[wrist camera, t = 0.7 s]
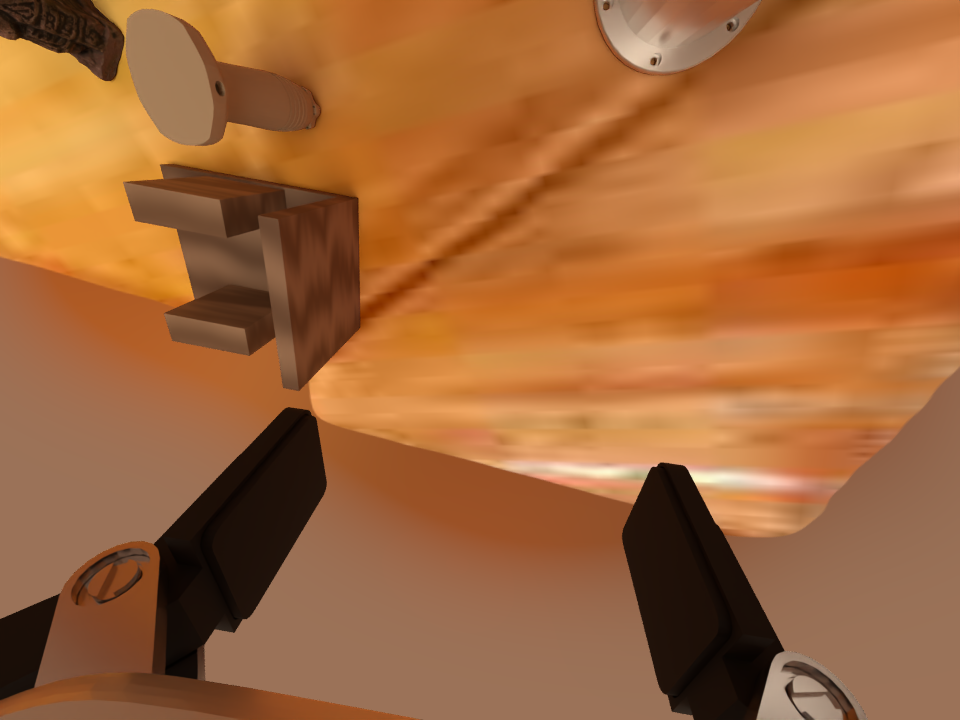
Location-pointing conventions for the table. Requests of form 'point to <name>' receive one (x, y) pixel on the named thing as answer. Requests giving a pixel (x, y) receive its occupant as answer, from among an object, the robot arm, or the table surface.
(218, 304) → the wooden stand
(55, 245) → the table surface
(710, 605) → the robot arm
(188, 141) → the handle
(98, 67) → the statue
